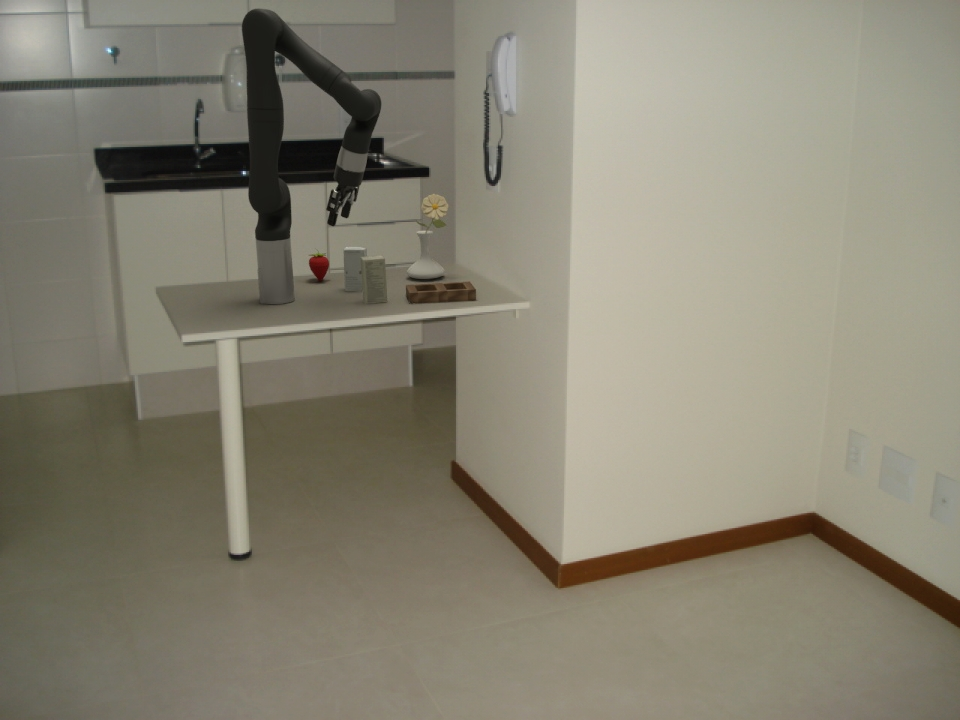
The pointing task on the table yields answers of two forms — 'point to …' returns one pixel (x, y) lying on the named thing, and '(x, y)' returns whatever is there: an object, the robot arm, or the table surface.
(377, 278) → the skincare box
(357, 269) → the skincare box
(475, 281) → the table surface
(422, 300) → the wooden box
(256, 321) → the table surface
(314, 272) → the strawberry
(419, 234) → the flower in vase
